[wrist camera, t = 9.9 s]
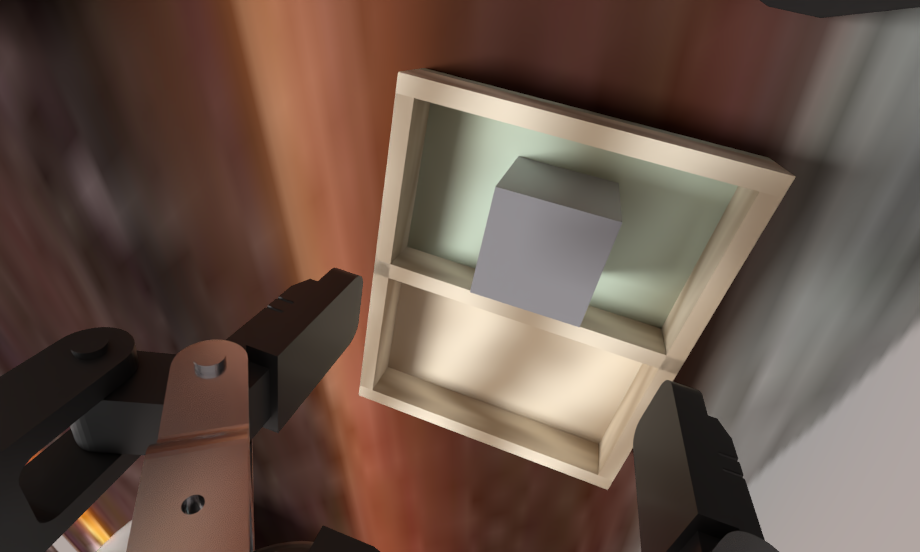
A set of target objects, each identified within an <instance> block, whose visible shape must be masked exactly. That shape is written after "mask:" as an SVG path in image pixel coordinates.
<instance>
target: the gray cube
mask: <svg viewBox="0 0 920 552" xmlns="http://www.w3.org/2000/svg"><path fill="white" fill-rule="evenodd" d="M621 225H622V213H621V202H620V192H619V183H617V182H613V181H609V180H606V179H602V178H598V177H595V176H591V175H587V174H583V173H580V172H576V171H572V170H569V169H565V168H561V167H557V166H554V165H550V164H546V163H543V162H539V161H535V160H532V159H528V158H524V157H520V156H518V157H517V159H516V160H515V161H514V163H513V164H512V165H511V167H510V168H509V169H508V171H507V172H506V173H505V175H504V176H503V177H502V179H501V180H500V181H499V183H498V184H497V185H496V186H495V190H494V194H493V199H492V203H491V207H490V211H489V215H488V219H487V223H486V227H485V232H484V236H483V240H482V244H481V248H480V252H479V256H478V261H477V265H476V269H475V273H474V277H473V281H472V285H471V289H470V292H471V293H474V294H477V295H480V296H483V297H486V298H489V299H493V300H496V301H499V302H502V303H505V304H508V305H511V306H514V307H517V308H521V309H524V310H527V311H530V312H533V313H536V314H539V315H542V316H545V317H549V318H552V319H555V320H558V321H561V322H564V323H567V324H570V325H573V326H577V327H580V325H581V323H582V320H583V318H584V315H585V313H586V311H587V308H588V306H589V303H590V301H591V298H592V296H593V293H594V291H595V289H596V286H597V284H598V281H599V279H600V276H601V274H602V271H603V269H604V266H605V264H606V262H607V259H608V257H609V254H610V252H611V249H612V247H613V244H614V242H615V240H616V237H617V235H618V232H619V230H620V227H621Z"/></svg>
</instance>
